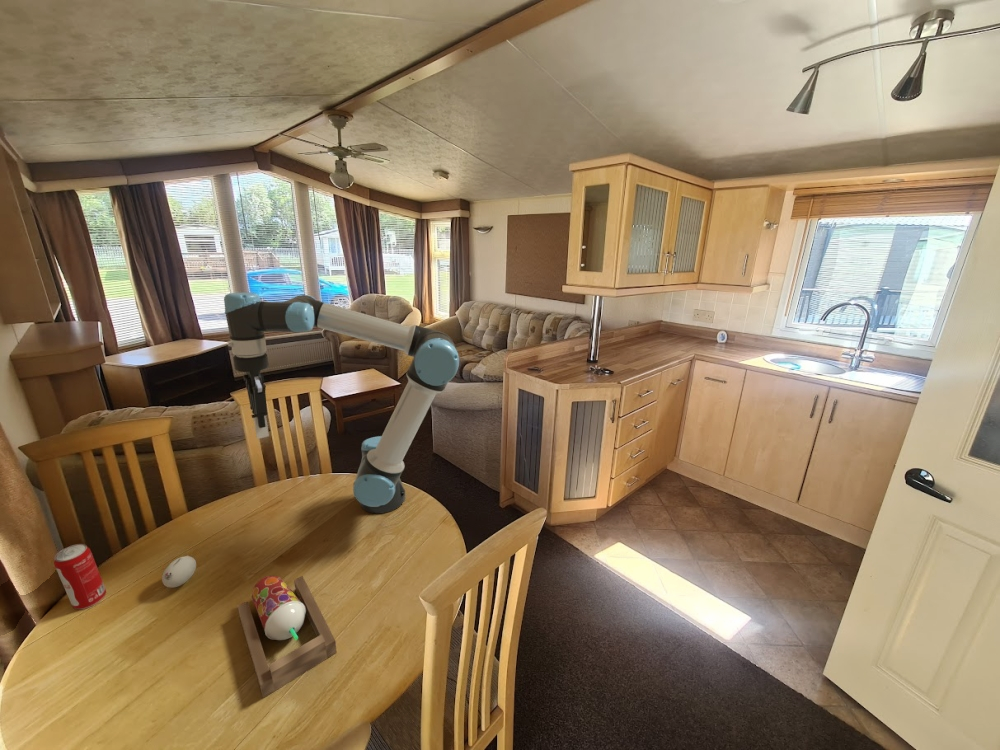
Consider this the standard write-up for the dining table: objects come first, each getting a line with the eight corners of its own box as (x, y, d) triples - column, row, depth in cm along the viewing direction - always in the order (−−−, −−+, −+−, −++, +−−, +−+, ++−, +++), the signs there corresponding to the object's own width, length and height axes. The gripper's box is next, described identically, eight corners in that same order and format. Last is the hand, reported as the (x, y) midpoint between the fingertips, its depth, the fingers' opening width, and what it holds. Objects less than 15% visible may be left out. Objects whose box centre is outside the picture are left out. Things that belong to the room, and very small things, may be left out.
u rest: (304, 586, 100) (301, 570, 99) (336, 652, 84) (334, 635, 83) (239, 617, 91) (236, 601, 90) (263, 698, 75) (259, 679, 74)
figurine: (181, 571, 103) (175, 550, 101) (205, 570, 103) (200, 549, 101) (158, 596, 95) (152, 574, 93) (184, 596, 96) (178, 574, 94)
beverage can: (106, 586, 98) (90, 536, 93) (107, 602, 93) (90, 551, 89) (72, 599, 94) (53, 548, 89) (70, 617, 89) (51, 565, 85)
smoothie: (265, 608, 97) (296, 662, 83) (237, 597, 91) (265, 654, 78) (291, 576, 100) (324, 624, 87) (266, 564, 95) (297, 613, 81)
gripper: (228, 350, 103) (242, 431, 110) (237, 361, 94) (252, 449, 101) (260, 346, 108) (271, 424, 115) (272, 357, 99) (284, 441, 106)
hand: (262, 436), depth 108 cm, fingers closed
